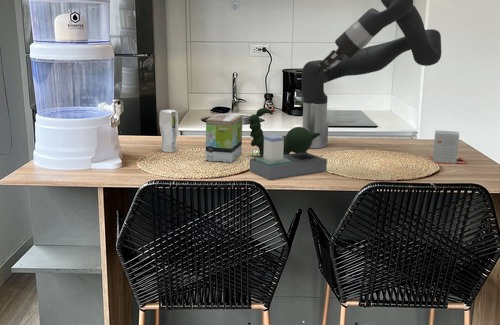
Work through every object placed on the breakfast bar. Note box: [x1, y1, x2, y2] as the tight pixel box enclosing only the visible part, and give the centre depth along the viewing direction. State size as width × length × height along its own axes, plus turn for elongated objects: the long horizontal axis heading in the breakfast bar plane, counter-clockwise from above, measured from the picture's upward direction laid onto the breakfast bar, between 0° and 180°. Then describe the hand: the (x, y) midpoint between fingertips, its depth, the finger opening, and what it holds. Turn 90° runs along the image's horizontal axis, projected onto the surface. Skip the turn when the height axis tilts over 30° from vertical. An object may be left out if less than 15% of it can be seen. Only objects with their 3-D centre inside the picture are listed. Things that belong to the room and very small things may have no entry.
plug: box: [263, 134, 284, 163], centre depth 174 cm, size 5×5×12 cm
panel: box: [249, 151, 328, 181], centre depth 178 cm, size 22×12×5 cm, turn 121°
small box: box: [432, 129, 460, 165], centre depth 194 cm, size 8×6×10 cm
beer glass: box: [158, 109, 179, 153], centre depth 204 cm, size 7×7×15 cm
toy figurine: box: [248, 107, 320, 156], centre depth 196 cm, size 9×19×25 cm
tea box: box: [204, 113, 243, 163], centre depth 195 cm, size 15×10×15 cm, turn 168°
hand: (315, 75), depth 174 cm, fingers open, 8 cm apart
